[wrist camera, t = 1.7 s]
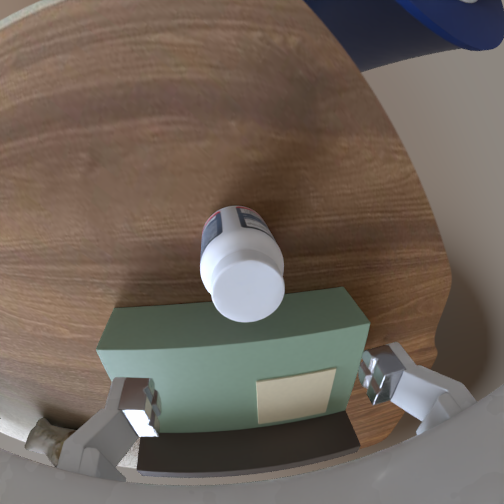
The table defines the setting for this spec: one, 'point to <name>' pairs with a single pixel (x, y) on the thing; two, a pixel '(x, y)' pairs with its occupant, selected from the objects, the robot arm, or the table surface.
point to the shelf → (242, 382)
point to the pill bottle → (241, 264)
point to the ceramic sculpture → (48, 439)
